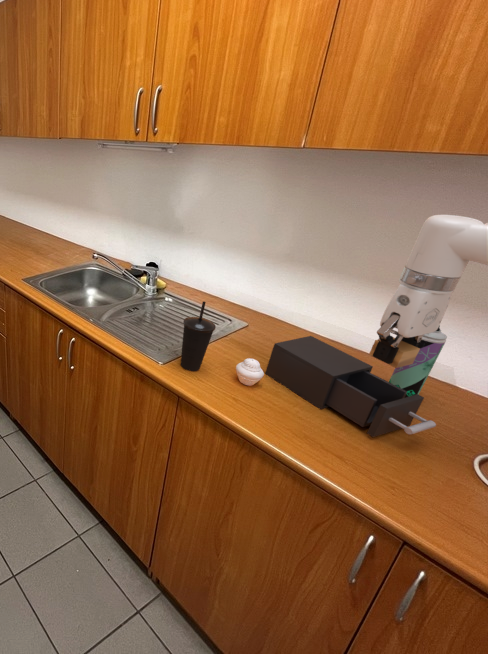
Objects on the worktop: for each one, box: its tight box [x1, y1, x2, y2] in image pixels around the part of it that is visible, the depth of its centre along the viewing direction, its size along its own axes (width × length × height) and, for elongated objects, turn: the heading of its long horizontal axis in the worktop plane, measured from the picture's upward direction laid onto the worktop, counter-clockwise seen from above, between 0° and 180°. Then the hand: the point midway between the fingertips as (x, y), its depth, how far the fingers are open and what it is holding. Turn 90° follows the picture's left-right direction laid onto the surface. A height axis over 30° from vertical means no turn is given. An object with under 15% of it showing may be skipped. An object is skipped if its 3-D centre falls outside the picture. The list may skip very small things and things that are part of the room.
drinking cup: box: [180, 301, 217, 372], centre depth 106 cm, size 8×8×20 cm
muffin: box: [235, 357, 265, 387], centre depth 102 cm, size 6×6×7 cm
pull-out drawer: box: [325, 371, 437, 438], centre depth 88 cm, size 18×11×8 cm, turn 16°
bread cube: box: [368, 336, 420, 369], centre depth 83 cm, size 5×5×4 cm
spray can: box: [388, 324, 448, 398], centre depth 94 cm, size 6×6×20 cm
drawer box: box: [264, 335, 374, 410], centre depth 99 cm, size 15×13×10 cm
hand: (391, 357), depth 84 cm, fingers closed on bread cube, 5 cm apart
